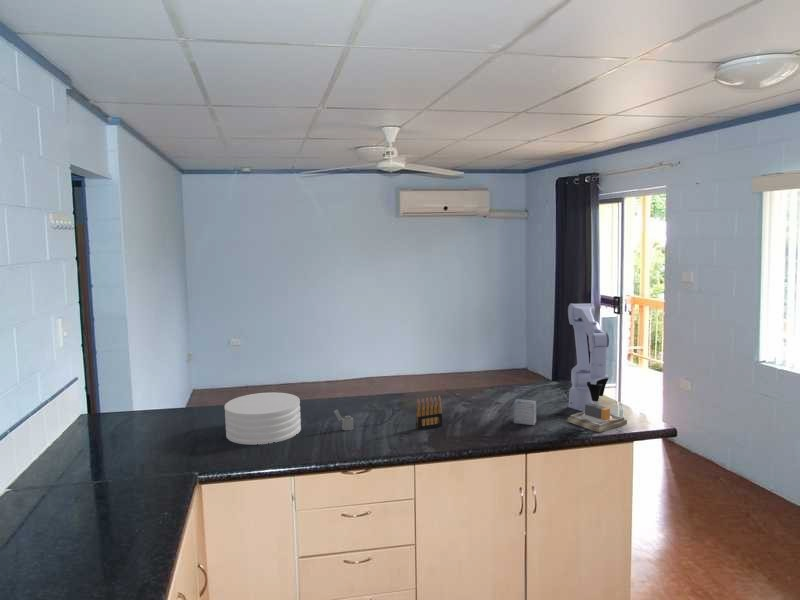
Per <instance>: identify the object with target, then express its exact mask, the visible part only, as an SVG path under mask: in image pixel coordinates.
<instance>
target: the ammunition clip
mask: <svg viewBox="0 0 800 600" xmlns="http://www.w3.org/2000/svg"><path fill="white" fill-rule="evenodd" d="M441 401H442V400H441V395H438V397H437V396H435V395H434V397H433V396H430V397H429V398H428V397H426V399H425V400H424V398H423V397H422V398H421V401H420V399H419V398H417V400H416V416H415V429H416V430H417V431H418V430H419V431H420V430H421V431H422V430H425V429H433V428H438V427H443V426H444V425H443V413H442V410H443V409H442V402H441Z"/></svg>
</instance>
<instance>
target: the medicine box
mask: <svg viewBox="0 0 800 600" xmlns="http://www.w3.org/2000/svg"><path fill="white" fill-rule="evenodd" d="M536 422H537V401H536V400H529V399H522V398H521V399H520V398H517V399H515V400H514V402H513V423H514V424H520V425H530V426H535V424H536Z"/></svg>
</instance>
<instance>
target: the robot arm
mask: <svg viewBox="0 0 800 600" xmlns="http://www.w3.org/2000/svg"><path fill="white" fill-rule="evenodd" d="M595 307H596V306H595V305H594V304H593V303H592V302H591V303H569V305H568V306H567V317H568V321H569V325H572V327H573V330H574V342H575V350H576V351H575V352H576V353H575V354H576V361H577V364H576V365H575V366H573V367H572V369H571V371H570V372H571V373H570V374H571V375H570V377H571V378H570V381H571V387H570V388H569V392H568V405H567V408H570V409H573V410H576V411H579V412H584V411H585V404H589V403H591V404H594V402H598V401H599V399H600V397H604V393H605V388H606V385H607V382H608V381H609V380H610V379H609V378H610V375H607V350H608V349H607V348H609V346H610V338H609V337H610V336H609V334H608V331H603V329H602V327H601V325H600V323H599V322H598V321H596V320H595V318H594V317H595V315H596V308H595ZM587 336H588V339H587ZM588 344H589V346H588ZM589 352H590V357H589Z"/></svg>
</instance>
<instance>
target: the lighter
mask: <svg viewBox="0 0 800 600" xmlns="http://www.w3.org/2000/svg"><path fill="white" fill-rule="evenodd" d="M333 412H334V413H333V414H335V417H336V418H337V420H338V422H342V424H341V426H342V428H341V429H342V431H343V430H345V431H353V430H352V429H354V418H353V417H352V416H351V415H344V418H343V417H342V416H341V414H340V412H339V410H338V409H336V410H334V411H333Z"/></svg>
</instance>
